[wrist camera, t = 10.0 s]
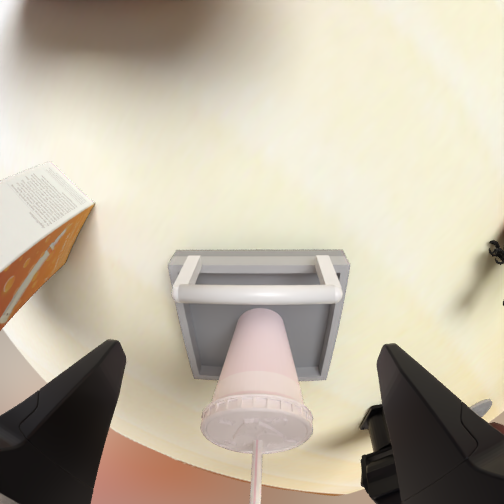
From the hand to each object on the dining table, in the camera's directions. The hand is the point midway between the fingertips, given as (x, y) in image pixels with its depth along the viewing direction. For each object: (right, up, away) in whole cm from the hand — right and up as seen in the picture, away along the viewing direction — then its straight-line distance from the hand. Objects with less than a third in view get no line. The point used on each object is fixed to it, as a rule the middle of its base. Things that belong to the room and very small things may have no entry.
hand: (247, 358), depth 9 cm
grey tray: (+1, -1, +15) cm, 15 cm away
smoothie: (+1, -2, +13) cm, 14 cm away
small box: (-17, +7, +12) cm, 22 cm away
